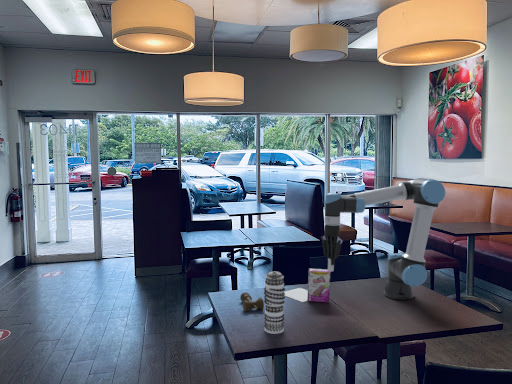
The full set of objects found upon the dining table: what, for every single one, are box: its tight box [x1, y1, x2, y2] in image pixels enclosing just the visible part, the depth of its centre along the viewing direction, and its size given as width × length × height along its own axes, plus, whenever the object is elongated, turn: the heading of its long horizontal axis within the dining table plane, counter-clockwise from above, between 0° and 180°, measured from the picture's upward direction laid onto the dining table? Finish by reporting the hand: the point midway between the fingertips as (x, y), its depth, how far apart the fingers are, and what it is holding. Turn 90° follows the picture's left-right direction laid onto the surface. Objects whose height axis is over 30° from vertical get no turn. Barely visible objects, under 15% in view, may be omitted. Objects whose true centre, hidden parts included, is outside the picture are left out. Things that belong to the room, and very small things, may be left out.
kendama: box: [240, 292, 265, 313], centre depth 204 cm, size 6×10×20 cm
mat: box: [283, 287, 309, 303], centre depth 224 cm, size 18×16×1 cm
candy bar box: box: [307, 268, 331, 303], centre depth 213 cm, size 11×5×16 cm, turn 84°
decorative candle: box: [263, 271, 286, 335], centre depth 177 cm, size 9×9×25 cm
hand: (330, 271), depth 206 cm, fingers closed
